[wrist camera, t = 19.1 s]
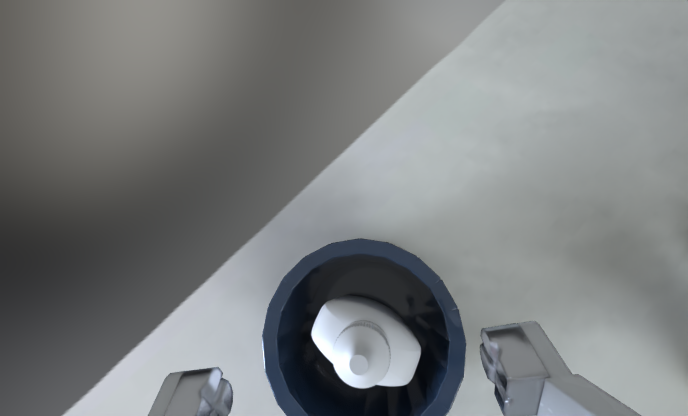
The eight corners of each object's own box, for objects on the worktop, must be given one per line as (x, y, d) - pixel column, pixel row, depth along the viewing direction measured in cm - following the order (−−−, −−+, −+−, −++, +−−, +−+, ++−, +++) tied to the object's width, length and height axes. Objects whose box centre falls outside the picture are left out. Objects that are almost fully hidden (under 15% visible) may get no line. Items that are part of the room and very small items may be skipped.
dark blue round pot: (421, 242, 25) (439, 224, 17) (451, 387, 22) (489, 443, 15) (292, 264, 26) (254, 256, 18) (308, 406, 23) (272, 468, 15)
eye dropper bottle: (369, 274, 24) (358, 265, 13) (418, 339, 23) (458, 396, 11) (322, 310, 24) (268, 336, 12) (369, 378, 23) (358, 478, 11)
